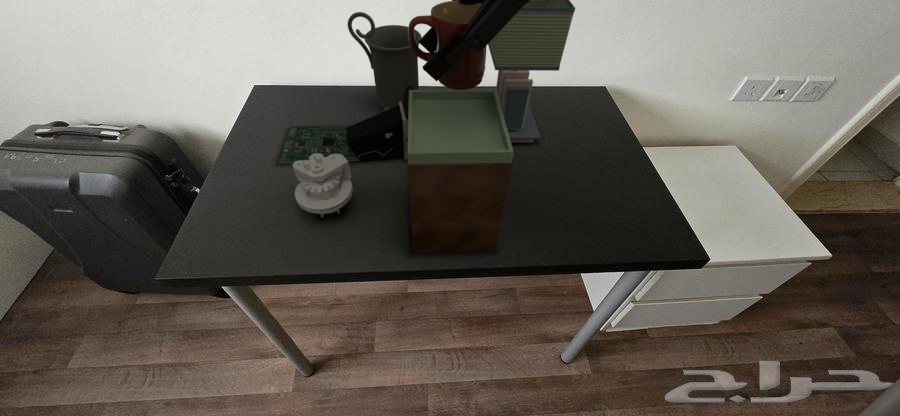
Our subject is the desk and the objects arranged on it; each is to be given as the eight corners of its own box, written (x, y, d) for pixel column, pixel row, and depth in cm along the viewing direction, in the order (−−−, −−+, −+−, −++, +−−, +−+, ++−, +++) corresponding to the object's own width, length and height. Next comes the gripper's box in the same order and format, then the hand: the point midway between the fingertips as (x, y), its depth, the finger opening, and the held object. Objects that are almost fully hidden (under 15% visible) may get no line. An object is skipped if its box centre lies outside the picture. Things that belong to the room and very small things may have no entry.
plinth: (483, 187, 82) (495, 99, 66) (494, 251, 70) (513, 163, 54) (413, 188, 81) (408, 100, 65) (413, 253, 69) (406, 165, 53)
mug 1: (426, 91, 109) (425, -1, 90) (431, 120, 99) (430, 23, 80) (362, 94, 107) (347, 0, 88) (360, 123, 97) (343, 25, 78)
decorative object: (349, 144, 90) (339, 88, 79) (422, 138, 93) (422, 84, 82) (350, 166, 85) (340, 109, 74) (428, 158, 88) (428, 103, 77)
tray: (494, 100, 66) (496, 89, 64) (511, 163, 54) (513, 151, 53) (409, 100, 65) (409, 89, 63) (408, 164, 53) (407, 153, 52)
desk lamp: (539, 147, 92) (576, 8, 68) (483, 148, 91) (501, 6, 67) (525, 107, 105) (553, -23, 80) (476, 107, 104) (489, -25, 80)
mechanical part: (304, 232, 72) (286, 189, 63) (299, 191, 79) (283, 148, 70) (361, 219, 74) (352, 176, 66) (352, 180, 82) (342, 137, 73)
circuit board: (366, 160, 87) (365, 158, 86) (278, 163, 85) (277, 161, 84) (369, 126, 96) (369, 124, 95) (290, 128, 94) (289, 126, 93)
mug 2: (483, 67, 61) (489, 0, 53) (492, 95, 55) (500, 22, 47) (410, 69, 60) (406, 0, 52) (411, 97, 54) (407, 23, 46)
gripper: (606, -21, 39) (452, 113, 50) (549, -66, 53) (438, 47, 63) (573, -84, 35) (411, 78, 45) (520, -116, 49) (405, 15, 59)
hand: (427, 60), depth 54 cm, fingers closed on mug 2, 8 cm apart
